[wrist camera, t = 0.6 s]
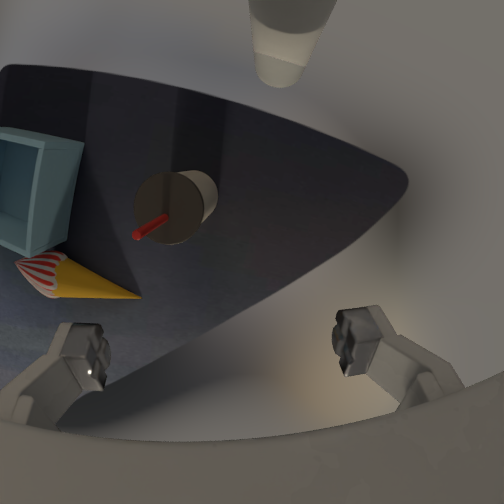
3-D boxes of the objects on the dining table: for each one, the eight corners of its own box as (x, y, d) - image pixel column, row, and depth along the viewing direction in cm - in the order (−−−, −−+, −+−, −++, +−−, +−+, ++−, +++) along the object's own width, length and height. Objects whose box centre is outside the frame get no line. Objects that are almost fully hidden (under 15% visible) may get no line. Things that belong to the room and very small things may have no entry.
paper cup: (175, 162, 36) (108, 166, 19) (226, 177, 36) (196, 191, 20) (161, 213, 38) (91, 253, 21) (211, 229, 38) (172, 282, 21)
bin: (10, 127, 35) (-30, 126, 26) (84, 142, 35) (45, 141, 27) (-3, 212, 38) (-40, 223, 30) (67, 240, 39) (29, 258, 31)
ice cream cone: (145, 290, 45) (26, 257, 40) (149, 267, 41) (18, 231, 35) (137, 328, 41) (11, 291, 36) (140, 308, 37) (0, 268, 31)
